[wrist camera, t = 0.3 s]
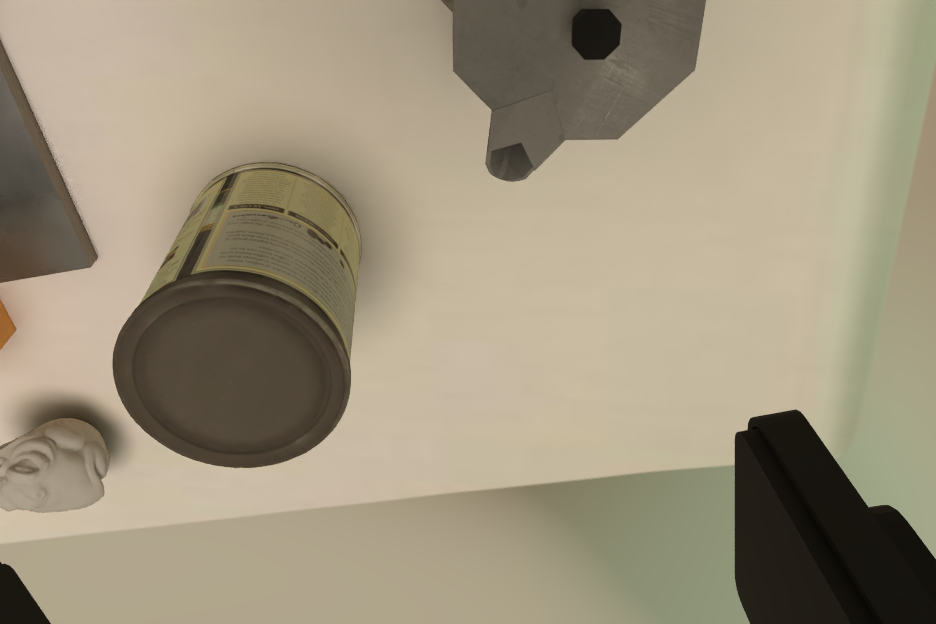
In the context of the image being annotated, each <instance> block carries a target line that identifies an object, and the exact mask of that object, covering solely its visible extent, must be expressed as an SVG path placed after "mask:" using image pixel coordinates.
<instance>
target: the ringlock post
mask: <svg viewBox="0 0 936 624" xmlns="http://www.w3.org/2000/svg"><path fill="white" fill-rule="evenodd" d="M97 258H98V257H97V255H96V253H95V250H94V248H93V246H92V244H91V242H90V239H89V237H88V235H87V233H86V230H85V228H84V226H83V224H82V222H81V219H80V217H79V215H78V213H77V210H76V208H75V206H74V204H73V202H72V199H71V197H70V195H69V193H68V190H67V188H66V186H65V184H64V182H63V179H62V177H61V175H60V173H59V170H58V168H57V166H56V164H55V162H54V159H53V157H52V155H51V153H50V150H49V148H48V146H47V144H46V142H45V139H44V137H43V135H42V133H41V130H40V128H39V126H38V124H37V122H36V119H35V117H34V115H33V113H32V110H31V108H30V106H29V104H28V101H27V99H26V97H25V95H24V93H23V90H22V88H21V86H20V84H19V81H18V79H17V77H16V75H15V73H14V70H13V68H12V66H11V64H10V61H9V59H8V57H7V55H6V53H5V50H4V48H3V46H2V44H1V41H0V283H2V282H8V281H13V280H19V279H25V278H31V277H37V276H43V275H49V274H54V273H60V272H66V271H72V270H78V269H84V268H89V267H91V266H92V265H93V264H94V262H95V261H96V260H97Z"/></svg>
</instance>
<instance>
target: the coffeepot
mask: <svg viewBox="0 0 936 624" xmlns="http://www.w3.org/2000/svg"><path fill="white" fill-rule="evenodd" d="M441 1H442V2H443V3H444V4H445V5H446V6H447V7H448V8H449V9H450V10H451V11H452V12H453V71H454V72H455V73H456V74H457V75H458V76H459V77H460V78H461V79H462V80H463V81H464V82H465V83H466V84H467V85H468V86H469V88H470V89H471V90H472V91H473V92H474V93H475V94H476V95H477V96H478V97H479V98H480V99H481V100H482V101H483V102H484V103H485V104H486V105H487V106H488V107H489V108H490V109H491V110H492V114H491V122H490V130H489V138H488V146H487V154H486V163H485V164H486V166H487V168H488V170H489V172H490V174H491V175H492V176H495V177H497V178H499V179H501V180H505V181H511V182H514V181H520V180H524V179H526V178H527V177H528V176H529V175H530V174H531V173H532V172H533V170H536V169H537V168H538V167H539V166H540V165H541V164H542V163H543V162H544V161H545V160H546V159H547V158H548V157H549V156H550V155H551V154H552V153H553V152H554V151H555V150H556V149H557V148H558V147H559V146H560V145H561V144H562V143H563V142H564V141H565V140H601V139H618V138H620V137H621V136H622V135H623V134H624V133H625V132H626V131H627V130H628V129H630V128H631V127H632V126H633V125H634V124H635V123H636V122H637V121H638V120H640V119H641V118H642V117H643V116H644V115H645V114H646V113H647V112H649V111H650V110H651V109H652V108H653V107H654V106H655V105H656V104H657V103H659V102H660V101H661V100H662V99H663V98H664V97H665V96H666V95H667V94H669V93H670V92H671V91H672V90H673V89H674V88H675V87H676V86H677V85H679V84H680V83H681V82H682V81H683V80H684V79H685V78H686V77H688V76H689V75H690V74H691V73H692V72H693V71H694V70H695V67H696V60H697V54H698V47H699V41H700V35H701V28H702V22H703V16H704V9H705V3H706V0H441Z"/></svg>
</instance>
